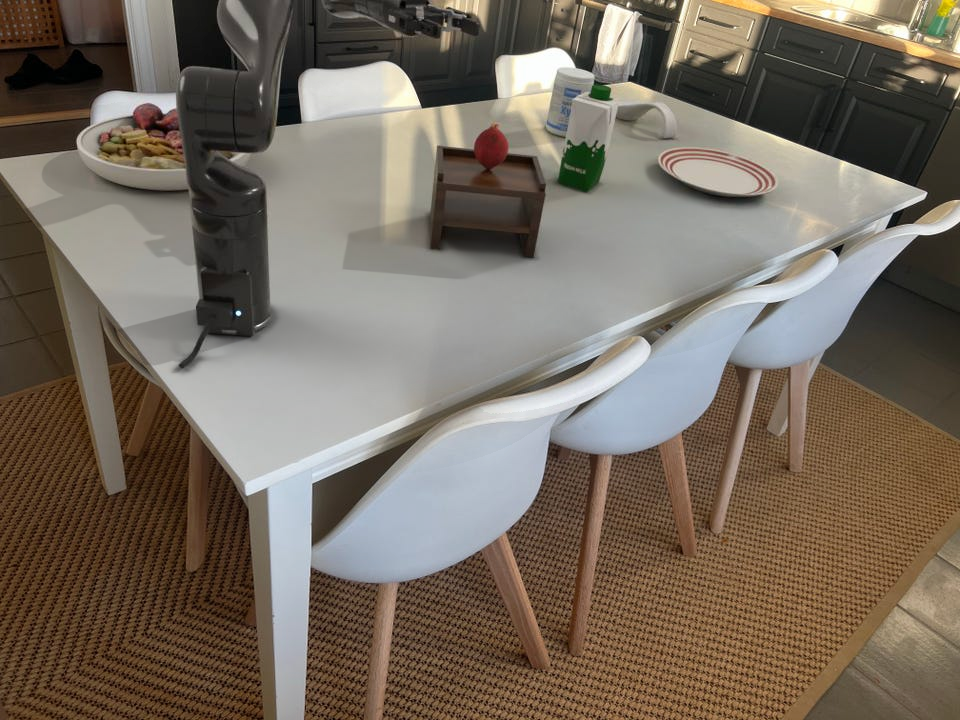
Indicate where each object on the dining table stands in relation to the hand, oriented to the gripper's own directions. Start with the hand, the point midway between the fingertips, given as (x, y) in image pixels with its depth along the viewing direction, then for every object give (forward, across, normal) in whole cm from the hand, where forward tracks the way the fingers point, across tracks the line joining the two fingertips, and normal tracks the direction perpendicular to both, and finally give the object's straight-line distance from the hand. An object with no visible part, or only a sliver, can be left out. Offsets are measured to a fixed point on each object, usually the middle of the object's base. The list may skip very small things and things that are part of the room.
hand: (458, 30), depth 125 cm
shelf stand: (+12, -1, +32) cm, 34 cm away
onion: (+11, 0, +20) cm, 23 cm away
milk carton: (+4, +36, +32) cm, 49 cm away
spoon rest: (-17, +86, +32) cm, 93 cm away
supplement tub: (-21, +60, +32) cm, 71 cm away
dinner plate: (+18, +69, +32) cm, 78 cm away
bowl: (-40, -34, +32) cm, 61 cm away
